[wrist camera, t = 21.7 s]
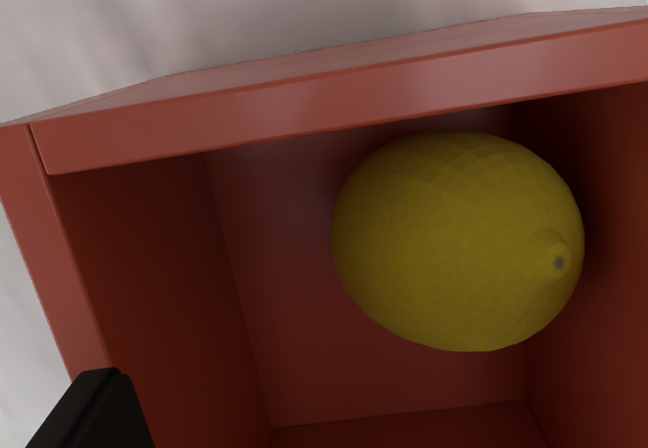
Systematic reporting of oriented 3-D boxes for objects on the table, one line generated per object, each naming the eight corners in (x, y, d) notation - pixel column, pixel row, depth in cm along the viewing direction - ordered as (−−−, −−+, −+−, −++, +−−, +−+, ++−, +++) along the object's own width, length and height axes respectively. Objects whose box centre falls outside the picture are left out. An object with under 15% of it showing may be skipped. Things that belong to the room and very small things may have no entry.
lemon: (258, 226, 16) (373, 271, 9) (378, 103, 17) (573, 49, 10) (371, 340, 18) (549, 459, 10) (474, 222, 19) (702, 253, 12)
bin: (165, 75, 18) (-30, 131, 8) (529, 12, 17) (769, -3, 7) (257, 432, 23) (200, 715, 13) (541, 399, 22) (692, 680, 12)
